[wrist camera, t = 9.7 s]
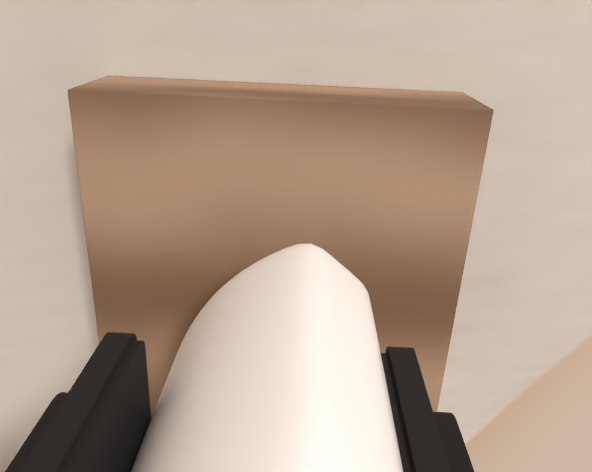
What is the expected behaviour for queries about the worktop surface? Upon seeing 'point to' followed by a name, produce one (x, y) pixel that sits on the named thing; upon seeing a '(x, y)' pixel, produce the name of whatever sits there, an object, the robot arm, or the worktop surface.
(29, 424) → the worktop surface
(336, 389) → the eye dropper bottle
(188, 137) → the walnut stand
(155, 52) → the worktop surface
